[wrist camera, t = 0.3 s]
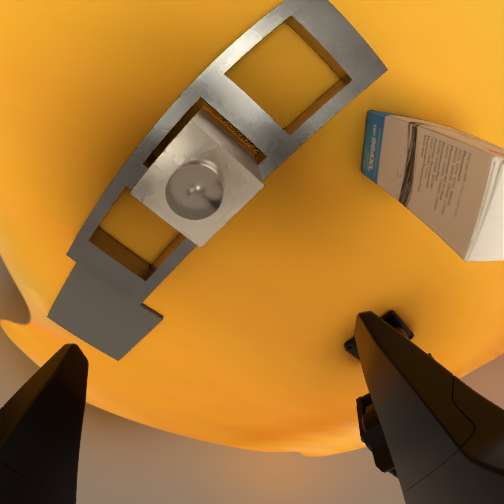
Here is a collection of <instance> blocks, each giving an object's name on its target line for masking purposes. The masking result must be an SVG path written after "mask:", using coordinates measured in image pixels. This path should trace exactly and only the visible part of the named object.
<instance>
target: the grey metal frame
mask: <svg viewBox="0 0 504 504" xmlns="http://www.w3.org/2000/svg"><path fill="white" fill-rule="evenodd" d="M284 21H285V22H286V23H287V24H288V25H290V26H291V27H292V28H293V29H294V30H295V31H296V32H297V33H298V34H299V35H300V36H301V37H302V38H303V39H304V40H305V41H306V42H307V43H308V44H309V45H310V46H311V47H312V48H313V49H314V50H315V51H316V52H317V53H318V54H319V55H320V57H321V58H322V59H323V60H324V61H325V62H326V63H327V64H328V65H329V66H330V67H331V69H332V70H333V71H334V72H335V73H336V74H337V75H338V76H339V78H340V79H341V80H339V81H338V82H337V83H336V84H335V85H334V86H332V87H331V88H330V89H329V90H328V91H327V92H325V93H324V94H323V95H322V96H321V97H320V98H319V99H317V100H316V101H315V102H314V103H313V104H312V105H311V106H309V107H308V108H307V109H306V110H305V111H304V112H303V113H302V114H301V115H299V116H298V117H297V118H296V119H295V120H294V121H293V122H292V123H291V124H290V125H288V126H287V127H286V128H285V129H284V130H283V129H282V128H281V127H280V126H279V125H278V124H277V123H276V122H275V121H274V120H273V119H272V118H271V117H270V116H269V115H268V114H267V113H266V112H265V111H264V110H263V109H262V108H261V107H260V106H259V105H258V104H257V103H255V102H254V101H253V100H252V99H251V98H250V97H249V96H248V95H247V94H246V93H245V92H244V91H242V90H241V89H240V88H239V87H238V86H237V85H236V84H235V83H234V82H232V81H231V80H230V79H229V78H228V77H227V76H226V75H224V74H225V73H226V72H227V71H228V70H229V69H230V68H231V67H232V66H233V65H234V64H235V63H237V62H238V61H239V60H240V59H241V58H242V57H243V56H244V55H245V54H246V53H247V52H249V51H250V50H251V49H252V48H253V47H254V46H255V45H257V44H258V43H259V42H260V41H261V40H262V39H264V38H265V37H266V36H267V35H268V34H269V33H271V32H272V31H273V30H274V29H276V28H277V27H278V26H279V25H280V24H282V23H283V22H284ZM387 70H388V69H387V68H386V66H385V65H384V64H383V62H382V61H381V60H380V59H379V57H378V56H377V55H376V53H375V52H374V51H373V50H372V48H371V47H370V46H369V45H368V44H367V42H366V41H365V40H364V39H363V38H362V36H361V35H360V34H359V33H358V32H357V31H356V30H355V28H354V27H353V26H352V25H351V24H350V23H349V22H348V21H347V20H346V18H345V17H344V16H343V15H342V14H341V13H340V12H339V11H338V10H337V9H336V8H335V7H334V6H333V5H332V4H331V3H330V2H329V1H328V0H285V1H284V2H282V3H281V4H280V5H278V6H277V7H276V8H275V9H273V10H272V11H271V12H269V13H268V14H267V15H266V16H264V17H263V18H262V19H261V20H260V21H258V22H257V23H256V24H255V25H253V26H252V27H251V28H250V29H249V30H248V31H246V32H245V33H244V34H243V35H242V36H241V37H240V38H238V39H237V40H236V41H235V42H234V43H233V44H232V45H231V46H230V47H228V48H227V49H226V50H225V51H224V52H223V53H222V54H221V55H220V56H219V57H218V58H217V59H216V60H215V61H214V62H213V63H212V64H211V65H210V66H208V67H207V68H206V69H205V70H204V71H203V72H202V73H201V75H200V76H199V77H198V78H197V79H196V80H195V81H194V82H193V83H192V84H191V85H190V86H189V87H188V88H187V89H186V90H185V91H184V92H183V93H182V95H181V96H180V97H179V98H178V99H177V100H176V101H175V102H174V103H173V104H172V106H171V107H170V108H169V109H168V110H167V111H166V112H165V114H164V115H163V116H162V117H161V118H160V119H159V121H158V122H157V123H156V124H155V125H154V127H153V128H152V129H151V130H150V132H149V133H148V134H147V135H146V136H145V138H144V139H143V140H142V142H141V143H140V144H139V145H138V147H137V148H136V149H135V150H134V152H133V153H132V154H131V156H130V157H129V158H128V160H127V161H126V162H125V164H124V165H123V167H122V168H121V169H120V171H119V172H118V173H117V175H116V176H115V178H114V179H113V181H112V182H111V183H110V185H109V186H108V188H107V189H106V191H105V192H104V194H103V195H102V197H101V198H100V200H99V201H98V203H97V204H96V206H95V207H94V209H93V210H92V212H91V214H90V215H89V217H88V218H87V220H86V222H85V223H84V225H83V227H82V228H81V230H80V232H79V233H78V235H77V237H76V238H75V240H74V242H73V244H72V245H71V247H70V249H69V251H68V252H67V254H66V255H67V256H69V257H70V258H71V259H73V260H74V261H75V262H77V263H78V264H79V265H81V266H82V267H84V268H85V269H86V270H88V271H89V272H91V273H92V274H93V275H95V276H96V277H98V278H99V279H101V280H102V281H103V282H105V283H106V284H108V285H109V286H111V287H112V288H114V289H115V290H117V291H118V292H120V293H121V294H123V295H124V296H126V297H127V298H129V299H130V300H132V301H134V302H135V303H137V304H138V305H140V304H141V303H142V302H143V301H144V300H145V299H146V298H147V297H148V296H149V295H150V294H151V293H152V292H153V290H154V289H155V288H156V287H157V286H158V285H159V284H160V283H161V282H162V281H163V280H164V279H165V278H166V277H167V276H168V275H169V274H170V273H171V272H172V271H173V270H174V268H175V267H176V266H177V265H178V264H179V263H180V262H181V261H182V260H183V259H184V258H185V257H186V256H187V255H188V254H189V253H190V252H191V251H192V250H193V249H194V248H195V247H196V246H197V245H196V244H195V243H194V242H192V241H191V240H190V239H188V238H187V237H186V236H184V235H183V234H182V233H180V234H179V235H178V236H177V237H176V238H175V240H174V241H173V242H172V243H171V244H170V245H169V246H168V247H167V248H166V249H165V251H164V252H163V253H162V254H161V255H160V256H159V257H158V258H157V259H156V261H155V262H154V263H153V264H152V265H149V264H148V263H146V262H145V261H144V260H142V259H141V258H139V257H138V256H137V255H135V254H134V253H132V252H131V251H130V250H128V249H127V248H125V247H124V246H123V245H121V244H120V243H119V242H117V241H116V240H114V239H113V238H112V237H110V236H109V235H108V234H106V233H105V232H104V231H102V230H101V229H100V228H98V226H99V224H100V223H101V221H102V220H103V218H104V217H105V215H106V214H107V213H108V211H109V210H110V208H111V207H112V205H113V204H114V202H115V201H116V200H117V198H118V197H119V195H120V194H121V193H122V191H123V190H124V189H125V187H126V186H127V187H128V188H129V189H131V190H133V189H134V187H135V186H136V185H137V183H138V182H139V181H140V179H141V178H142V177H143V176H144V174H145V173H146V172H147V170H148V169H149V168H150V167H151V165H152V164H153V163H154V162H155V159H154V158H153V157H151V156H150V155H151V154H152V152H153V151H154V150H155V149H156V148H157V146H158V145H159V144H160V143H161V142H162V140H163V139H164V138H165V137H166V136H167V134H168V133H169V132H170V131H171V130H172V129H173V128H174V126H175V125H176V124H177V123H178V122H179V121H180V120H181V119H182V117H183V116H184V115H185V114H186V113H187V112H188V111H189V110H190V109H191V108H192V106H193V105H194V104H195V103H196V102H197V101H198V100H199V99H200V98H201V97H202V98H203V99H204V100H205V101H206V102H207V103H209V104H210V105H211V106H212V107H213V108H214V109H215V110H217V111H218V112H219V113H220V114H221V115H222V116H223V117H225V118H226V119H227V120H228V121H229V122H230V123H231V124H232V125H234V126H235V127H236V128H237V129H238V130H239V131H240V132H241V133H242V134H243V135H245V136H246V137H247V138H248V139H249V140H250V141H251V142H252V143H253V144H254V145H255V146H256V147H257V148H259V149H260V150H261V152H260V153H259V154H258V155H257V156H256V157H255V158H256V161H257V164H258V167H259V170H260V173H261V176H262V179H263V180H264V179H265V178H267V177H268V176H269V175H270V174H271V173H272V172H273V171H274V170H275V169H276V168H277V167H278V166H279V165H280V164H281V163H283V162H284V161H285V160H286V159H287V158H288V157H289V156H290V155H291V154H292V153H293V152H294V151H296V150H297V149H298V148H299V147H300V146H301V145H302V144H303V143H304V142H305V141H307V140H308V139H309V138H310V137H311V136H312V135H313V134H314V133H315V132H316V131H318V130H319V129H320V128H321V127H322V126H323V125H324V124H325V123H327V122H328V121H329V120H330V119H331V118H332V117H333V116H334V115H336V114H337V113H338V112H339V111H340V110H341V109H342V108H344V107H345V106H346V105H347V104H348V103H349V102H351V101H352V100H353V99H354V98H355V97H356V96H357V95H359V94H360V93H361V92H362V91H363V90H364V89H366V88H367V87H368V86H369V85H370V84H372V83H373V82H374V81H375V80H376V79H378V78H379V77H380V76H381V75H382V74H384V73H385V72H386V71H387Z"/></svg>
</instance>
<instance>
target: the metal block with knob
mask: <svg viewBox="0 0 504 504" xmlns="http://www.w3.org/2000/svg"><path fill="white" fill-rule="evenodd" d="M264 186H265V185H264V182H263V179H262V176H261V173H260V170H259V167H258V164H257V161H256V158H255V156H254V153H253V150H252V148H251V147H250V146H248V145H247V144H246V143H245V142H244V141H243V140H242V139H241V138H240V137H239V136H237V135H236V134H235V133H234V132H233V131H232V130H231V129H230V128H229V127H227V126H226V125H225V124H224V123H223V122H222V121H221V120H220V119H218V118H217V117H216V116H215V115H214V114H213V113H212V112H210V111H209V110H208V109H207V108H206V107H205V106H203V107H202V108H201V109H200V110H199V111H198V112H197V114H196V115H195V116H194V117H193V118H192V119H191V120H190V121H189V122H188V123H187V124H186V125H185V127H184V128H183V129H182V130H181V131H180V132H179V133H178V134H177V136H176V137H175V138H174V139H173V140H172V141H171V142H170V144H169V145H168V146H167V147H166V148H165V150H164V151H163V152H162V153H161V154H160V156H159V157H158V158H157V159H156V160H155V162H154V163H153V164H152V165H151V167H150V168H149V169H148V170H147V172H146V173H145V174H144V176H143V177H142V178H141V179H140V181H139V182H138V183H137V185H136V186H135V187H134V189H133V190H132V191H131V193H130V194H131V195H132V196H133V197H135V198H136V199H137V200H139V201H140V202H141V203H142V204H144V205H145V206H146V207H148V208H149V209H150V210H151V211H153V212H154V213H155V214H157V215H158V216H159V217H161V218H162V219H163V220H164V221H166V222H167V223H168V224H170V225H171V226H172V227H174V228H175V229H176V230H178V231H179V232H180V233H182V234H183V235H184V236H186V237H187V238H188V239H190V240H191V241H192V242H194V243H195V244H196V245H198V246H199V247H200V248H201V247H202V246H203V245H204V244H205V243H206V242H207V241H208V240H209V239H210V238H211V237H212V236H213V235H214V234H216V233H217V232H218V231H219V230H220V229H221V228H222V227H223V226H224V225H225V224H226V223H227V222H228V221H229V220H230V219H231V218H232V217H233V216H234V215H235V214H236V213H237V212H238V211H239V210H240V209H241V208H242V207H243V206H244V205H245V204H246V203H247V202H249V201H250V200H251V199H252V198H253V197H254V196H255V195H256V194H257V193H258V192H259V191H260V190H261V189H262V188H263V187H264Z"/></svg>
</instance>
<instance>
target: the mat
mask: <svg viewBox="0 0 504 504" xmlns="http://www.w3.org/2000/svg"><path fill="white" fill-rule="evenodd" d="M47 317H48V318H49V319H51V320H52V321H54V322H55V323H57V324H58V325H60V326H61V327H63V328H64V329H66V330H67V331H69V332H70V333H72V334H74V335H75V336H77V337H78V338H80V339H82V340H83V341H85V342H86V343H88V344H90V345H91V346H93V347H95V348H97V349H98V350H100V351H102V352H103V353H105V354H107V355H109V356H110V357H112V358H114V359H116V360H118V361H119V360H120V359H121V358H122V357H123V356H125V355H126V354H127V353H128V352H129V351H130V350H131V349H132V348H133V347H134V346H135V345H136V344H137V343H138V342H139V341H140V340H142V339H143V338H144V337H145V336H146V335H147V334H148V333H149V332H150V331H151V330H152V329H153V328H154V327H155V326H157V325H158V324H159V323H160V322H161V321H162V320H163V316H162V315H160V314H159V313H157V312H155V311H154V310H152V309H151V308H149V307H147V306H146V305H144V304H143V303H141V304H140V305H138V304H137V303H135V302H134V301H132V300H130V299H129V298H127V297H126V296H124V295H123V294H121V293H120V292H118V291H117V290H115V289H114V288H112V287H111V286H109V285H108V284H106V283H105V282H103V281H102V280H101V279H99V278H98V277H96V276H95V275H93V274H92V273H91V272H89V271H88V270H86V269H85V268H84V267H82V266H81V265H79V264H78V263H76V265H75V266H74V268H73V270H72V272H71V273H70V275H69V277H68V279H67V280H66V282H65V284H64V286H63V287H62V289H61V291H60V293H59V295H58V297H57V298H56V300H55V302H54V304H53V306H52V308H51V310H50V312H49V314H48V316H47Z"/></svg>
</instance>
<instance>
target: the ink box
mask: <svg viewBox="0 0 504 504" xmlns="http://www.w3.org/2000/svg"><path fill="white" fill-rule="evenodd" d="M362 173H363V174H364V175H365V176H367V177H368V178H370V179H371V180H372V181H373V182H375V183H376V184H378V185H379V186H380V187H381V188H383V189H384V190H385V191H387V192H388V193H389V194H390V195H392V196H393V197H394V198H395V199H397V200H398V201H399V202H400V203H401V204H403V205H404V206H405V207H406V208H407V209H408V210H410V211H411V212H412V213H413V214H414V215H416V216H417V217H418V218H419V219H420V220H421V221H423V222H424V223H425V224H426V225H427V226H428V227H429V228H430V229H431V230H433V231H434V232H435V233H436V234H437V235H438V236H439V237H440V238H441V239H442V240H443V241H444V242H445V243H446V244H448V245H449V246H450V247H451V248H452V249H453V250H454V251H455V252H456V253H457V254H458V255H459V256H460V257H461V258H462V259H463V260H464V261H466V262H467V261H468V262H471V261H496V260H504V149H503V148H501V147H498V146H496V145H494V144H492V143H489V142H487V141H485V140H482V139H480V138H478V137H475V136H472V135H470V134H467V133H465V132H462V131H460V130H457V129H455V128H451V127H448V126H444V125H440V124H436V123H432V122H428V121H424V120H420V119H415V118H411V117H406V116H401V115H396V114H391V113H385V112H379V111H374V110H370V111H368V114H367V125H366V135H365V144H364V152H363V161H362Z"/></svg>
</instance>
